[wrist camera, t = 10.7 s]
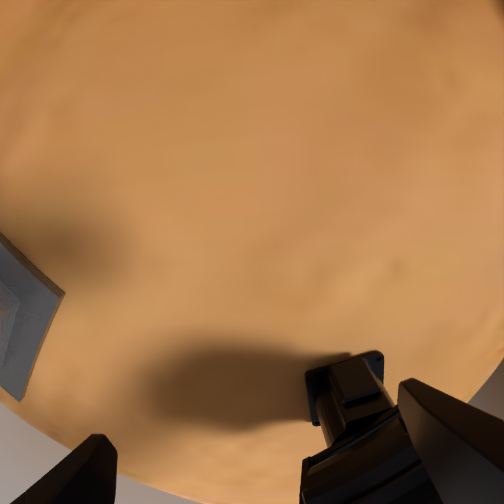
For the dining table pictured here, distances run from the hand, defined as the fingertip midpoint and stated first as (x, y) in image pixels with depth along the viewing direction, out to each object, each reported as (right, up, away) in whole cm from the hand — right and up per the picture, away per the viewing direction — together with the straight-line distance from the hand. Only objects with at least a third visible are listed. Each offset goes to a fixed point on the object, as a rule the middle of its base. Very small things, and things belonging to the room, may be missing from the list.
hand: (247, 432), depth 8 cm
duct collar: (-25, +1, +12) cm, 28 cm away
